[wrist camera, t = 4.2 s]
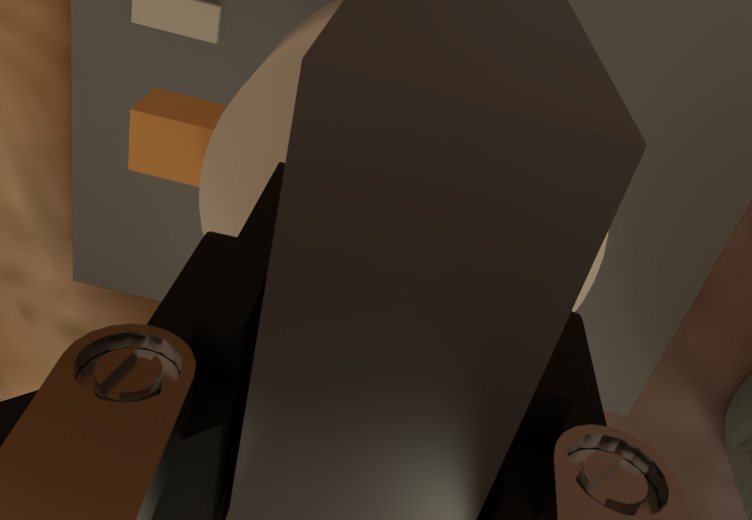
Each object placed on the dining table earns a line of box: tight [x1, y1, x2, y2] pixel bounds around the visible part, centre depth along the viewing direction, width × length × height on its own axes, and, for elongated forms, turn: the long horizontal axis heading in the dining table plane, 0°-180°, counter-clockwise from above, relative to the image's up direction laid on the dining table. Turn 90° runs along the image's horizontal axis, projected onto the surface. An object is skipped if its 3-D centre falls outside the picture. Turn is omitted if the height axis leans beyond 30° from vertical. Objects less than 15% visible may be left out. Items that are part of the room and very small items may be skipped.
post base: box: [70, 0, 752, 417], centre depth 18 cm, size 20×20×7 cm
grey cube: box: [128, 0, 647, 520], centre depth 11 cm, size 9×9×9 cm
